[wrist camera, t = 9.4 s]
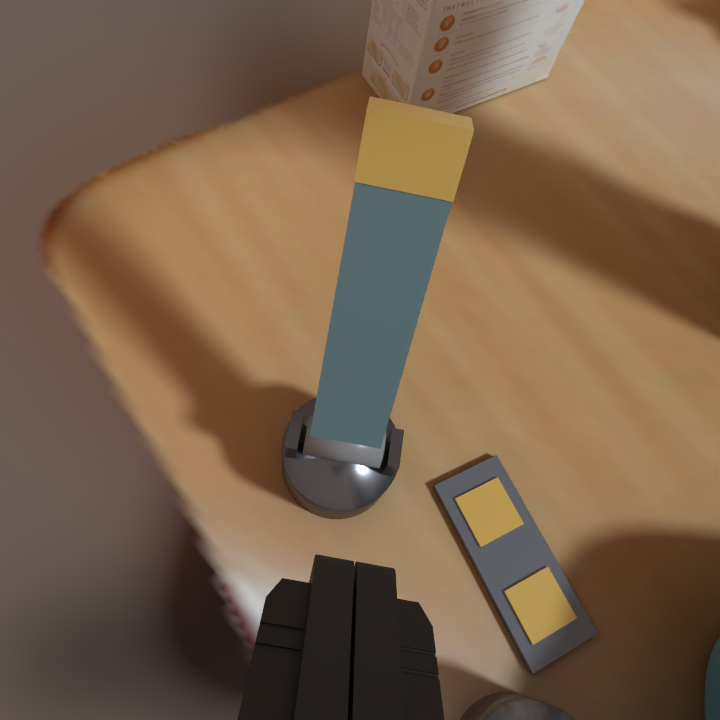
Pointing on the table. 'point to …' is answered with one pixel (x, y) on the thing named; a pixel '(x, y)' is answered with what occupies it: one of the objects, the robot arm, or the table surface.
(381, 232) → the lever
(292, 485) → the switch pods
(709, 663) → the casserole dish
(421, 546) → the table surface
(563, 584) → the chart card
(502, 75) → the coffeecake box
